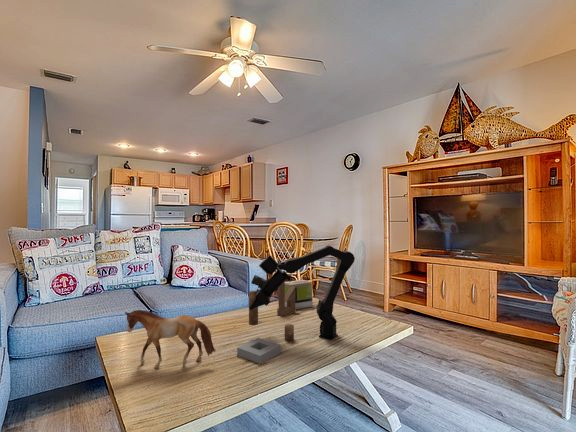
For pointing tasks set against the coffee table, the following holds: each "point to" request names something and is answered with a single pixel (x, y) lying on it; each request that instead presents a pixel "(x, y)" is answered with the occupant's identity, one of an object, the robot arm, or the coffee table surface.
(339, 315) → the coffee table surface
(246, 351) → the slate collar block
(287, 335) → the short walnut stub
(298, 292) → the tea box
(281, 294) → the wooden block
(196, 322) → the horse figurine
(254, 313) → the tall walnut pin
